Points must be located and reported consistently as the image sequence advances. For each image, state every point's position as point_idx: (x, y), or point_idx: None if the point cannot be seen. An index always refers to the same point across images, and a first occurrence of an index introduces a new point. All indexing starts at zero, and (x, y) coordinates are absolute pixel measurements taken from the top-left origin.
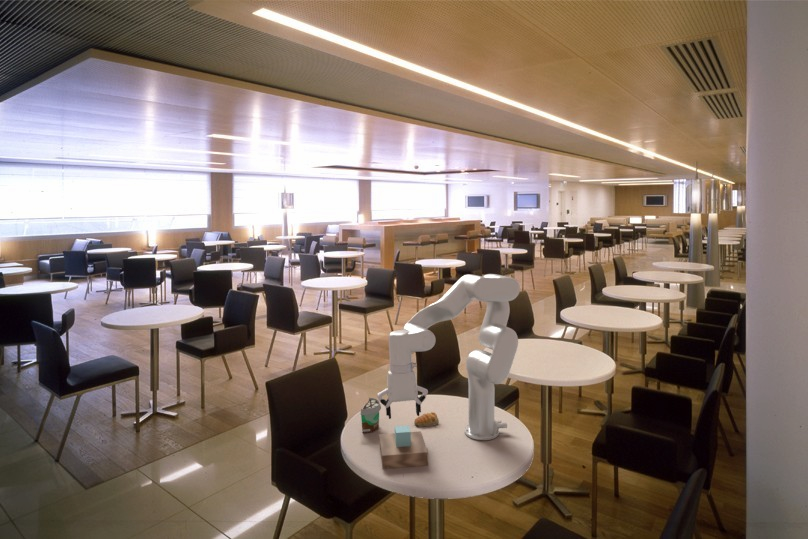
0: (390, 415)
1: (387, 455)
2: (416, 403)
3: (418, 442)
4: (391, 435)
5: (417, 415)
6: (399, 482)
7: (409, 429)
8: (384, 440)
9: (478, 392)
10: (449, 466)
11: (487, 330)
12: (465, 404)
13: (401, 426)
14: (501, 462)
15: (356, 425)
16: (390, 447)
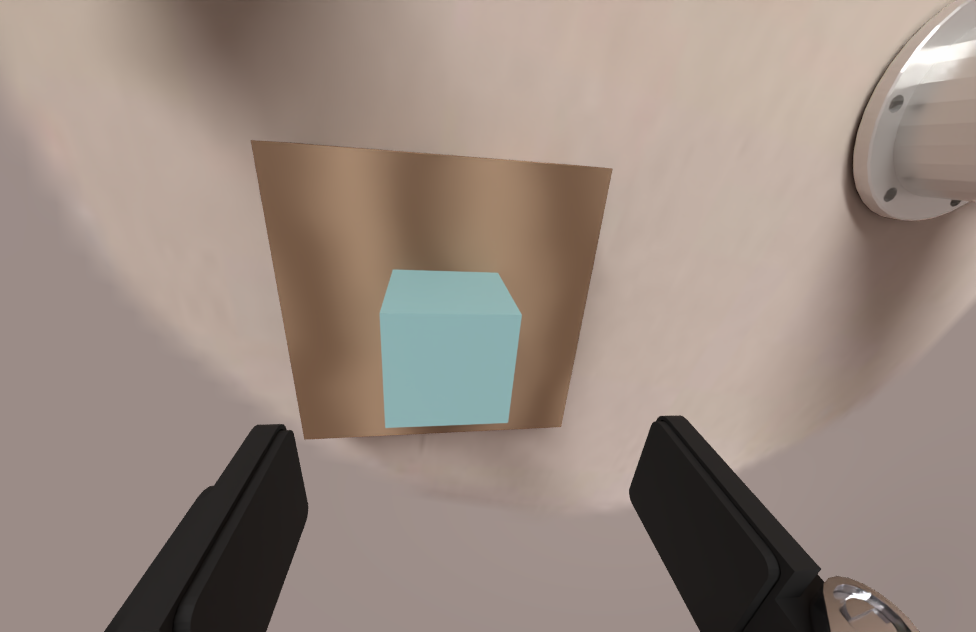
0: (286, 556)
1: (338, 437)
2: (751, 610)
3: (544, 327)
4: (367, 188)
5: (633, 498)
6: (401, 478)
7: (507, 386)
8: (309, 264)
9: None
10: (620, 400)
11: None
12: None
13: (447, 328)
14: (805, 394)
15: None
16: (357, 361)
